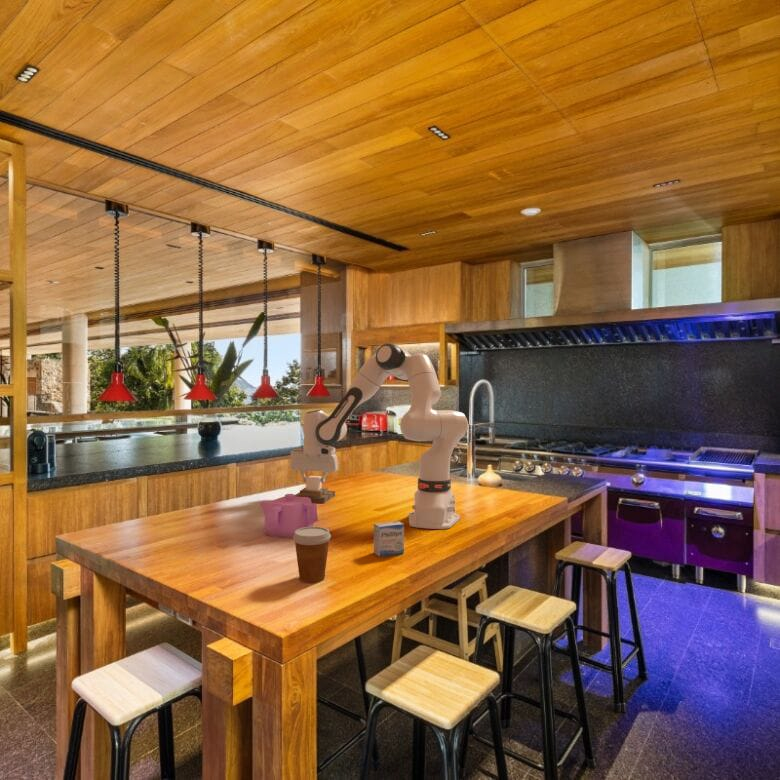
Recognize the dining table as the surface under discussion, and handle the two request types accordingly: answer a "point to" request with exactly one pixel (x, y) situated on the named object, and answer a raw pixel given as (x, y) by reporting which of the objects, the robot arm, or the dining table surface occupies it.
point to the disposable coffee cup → (312, 552)
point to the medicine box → (388, 538)
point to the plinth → (319, 499)
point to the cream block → (313, 483)
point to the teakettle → (288, 515)
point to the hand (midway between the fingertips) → (314, 481)
